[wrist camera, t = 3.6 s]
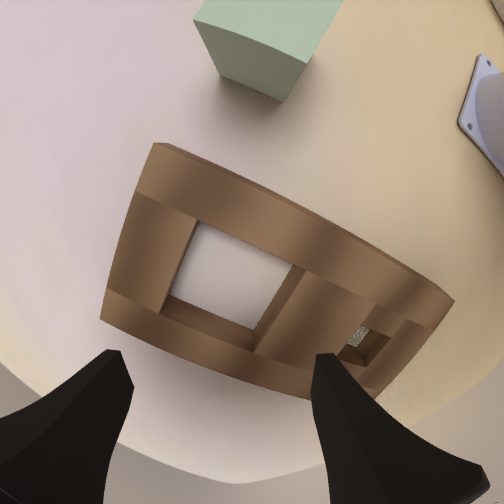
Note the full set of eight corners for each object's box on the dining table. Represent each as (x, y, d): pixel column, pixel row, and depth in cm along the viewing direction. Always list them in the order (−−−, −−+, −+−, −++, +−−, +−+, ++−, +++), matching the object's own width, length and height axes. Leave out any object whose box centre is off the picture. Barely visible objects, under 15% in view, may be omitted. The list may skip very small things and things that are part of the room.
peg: (310, 50, 13) (351, -12, 6) (281, 102, 15) (307, 63, 7) (250, 24, 13) (248, -52, 5) (219, 75, 14) (192, 19, 7)
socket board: (438, 286, 19) (455, 301, 16) (355, 391, 23) (362, 411, 20) (167, 143, 15) (153, 142, 13) (113, 301, 19) (99, 319, 17)
